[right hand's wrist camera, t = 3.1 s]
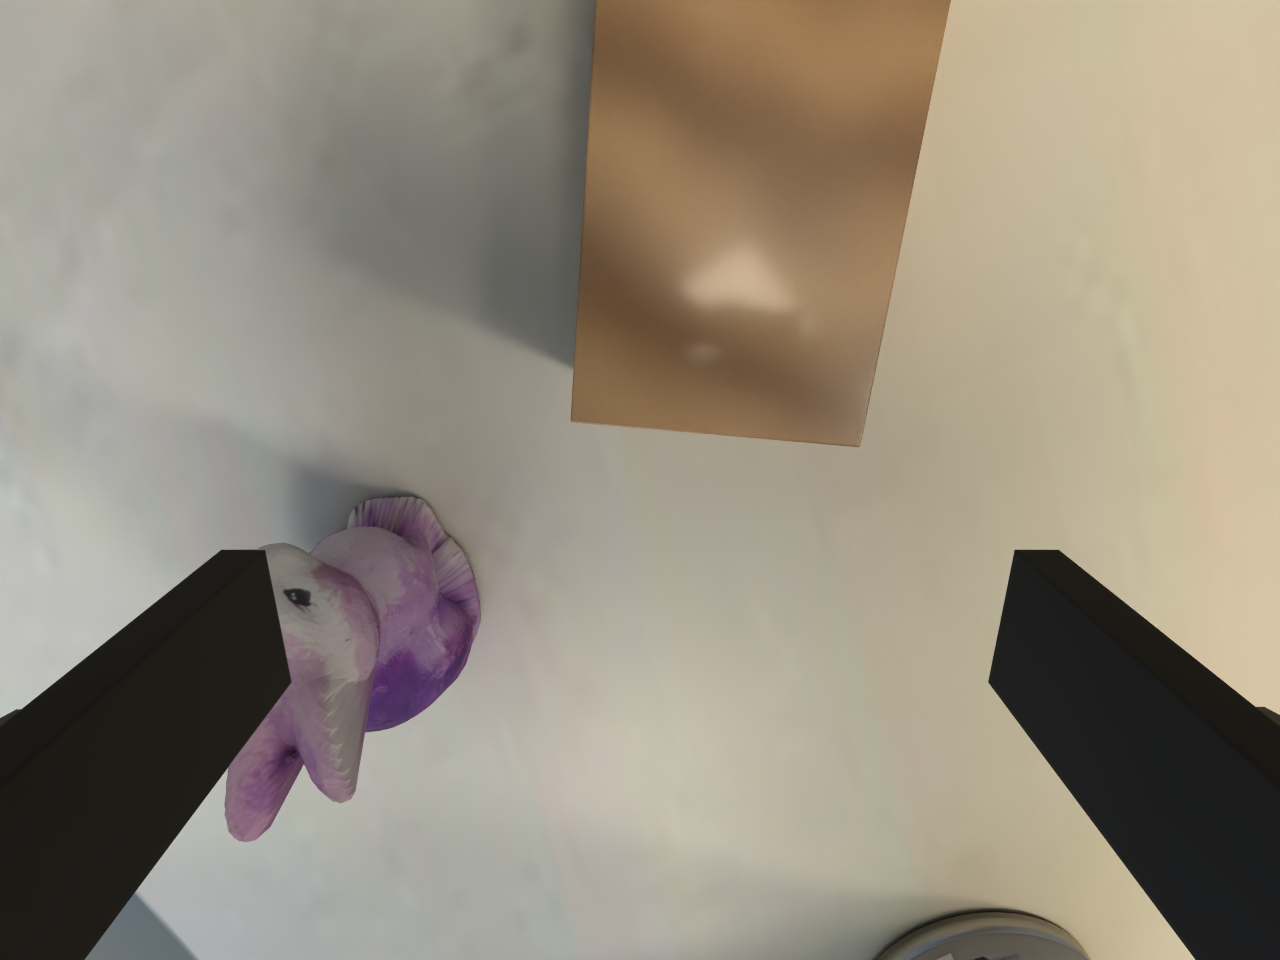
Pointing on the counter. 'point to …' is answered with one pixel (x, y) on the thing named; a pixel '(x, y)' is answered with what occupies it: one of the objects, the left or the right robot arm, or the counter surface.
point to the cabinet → (746, 210)
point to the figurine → (354, 651)
